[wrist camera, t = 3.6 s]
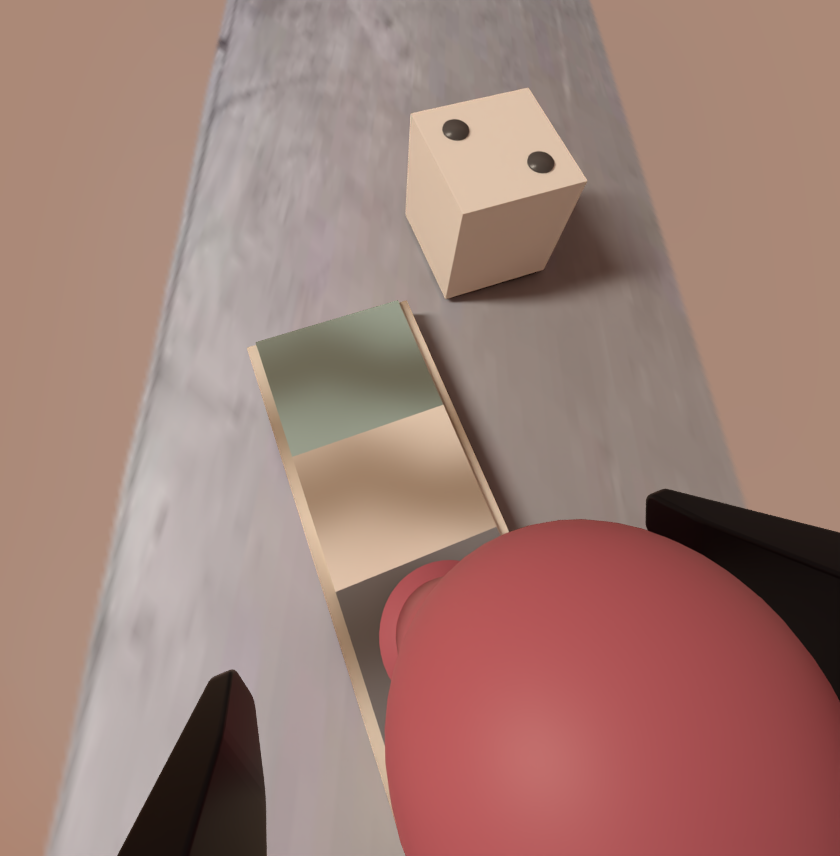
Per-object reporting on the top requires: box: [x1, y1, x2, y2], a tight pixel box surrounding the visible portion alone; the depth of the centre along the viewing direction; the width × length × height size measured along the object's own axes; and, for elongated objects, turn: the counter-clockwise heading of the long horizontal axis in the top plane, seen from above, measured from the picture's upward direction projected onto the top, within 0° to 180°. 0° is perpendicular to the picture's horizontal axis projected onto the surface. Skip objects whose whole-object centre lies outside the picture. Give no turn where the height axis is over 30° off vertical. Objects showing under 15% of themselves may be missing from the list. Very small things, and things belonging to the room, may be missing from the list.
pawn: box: [379, 519, 840, 856], centre depth 9 cm, size 4×4×14 cm
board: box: [247, 300, 509, 823], centre depth 16 cm, size 25×7×1 cm, turn 22°
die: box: [405, 88, 587, 299], centre depth 20 cm, size 5×5×5 cm
